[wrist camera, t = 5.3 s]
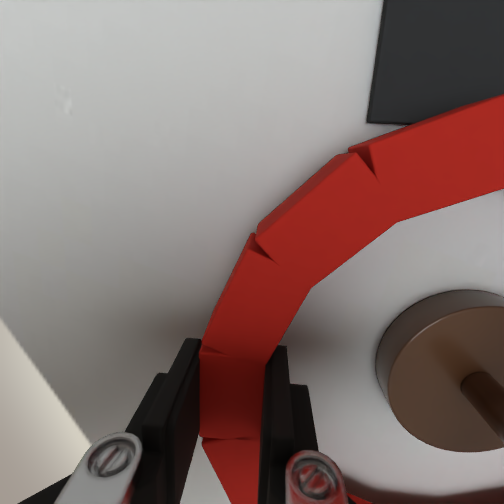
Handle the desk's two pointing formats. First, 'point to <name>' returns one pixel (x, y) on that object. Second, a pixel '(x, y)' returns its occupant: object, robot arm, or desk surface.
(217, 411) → the ring
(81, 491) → the robot arm
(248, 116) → the desk surface
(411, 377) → the ring holder
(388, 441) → the desk surface
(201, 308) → the desk surface
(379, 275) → the desk surface
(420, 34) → the mat
